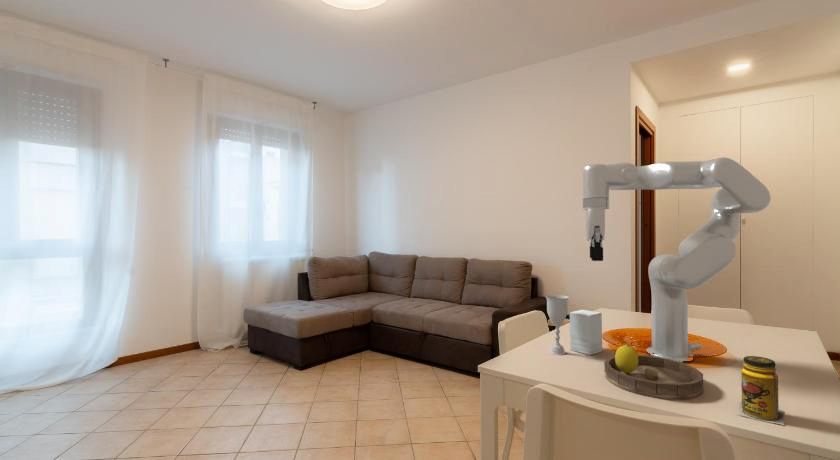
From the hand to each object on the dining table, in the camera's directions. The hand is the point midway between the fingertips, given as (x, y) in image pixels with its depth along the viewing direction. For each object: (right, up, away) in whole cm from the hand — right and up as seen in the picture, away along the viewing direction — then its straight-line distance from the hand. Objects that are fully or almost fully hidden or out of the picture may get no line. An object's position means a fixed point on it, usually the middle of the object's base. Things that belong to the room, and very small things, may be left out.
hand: (596, 259), depth 125 cm
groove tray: (+6, -30, -20) cm, 37 cm away
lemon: (0, -30, -18) cm, 35 cm away
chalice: (-11, -31, +5) cm, 33 cm away
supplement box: (-1, -31, +6) cm, 31 cm away
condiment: (+19, -31, -38) cm, 53 cm away
